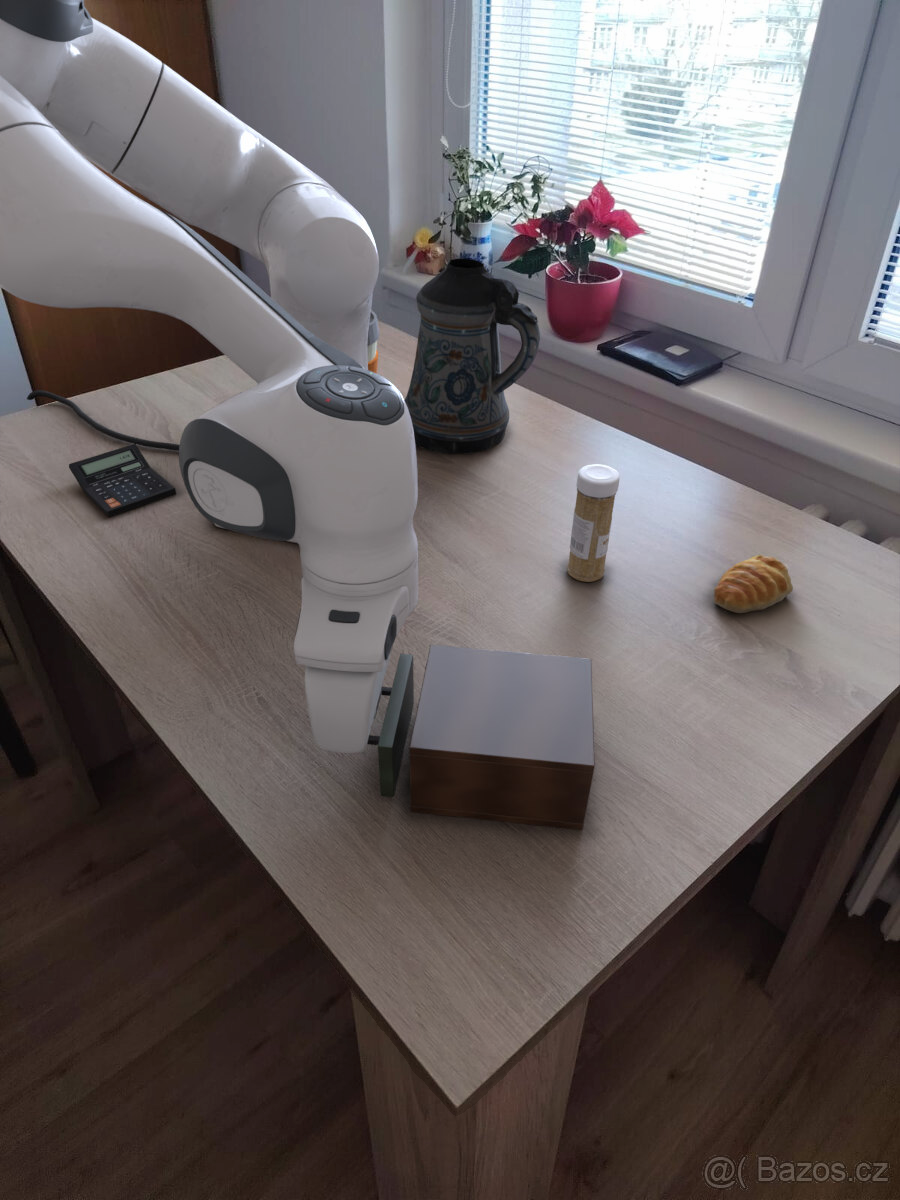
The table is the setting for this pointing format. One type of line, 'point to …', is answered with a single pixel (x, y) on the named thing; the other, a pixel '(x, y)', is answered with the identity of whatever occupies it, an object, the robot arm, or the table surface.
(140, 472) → the calculator
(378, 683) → the robot arm
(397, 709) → the drawer
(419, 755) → the cabinet
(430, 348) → the beer stein
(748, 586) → the pastry
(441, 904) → the table surface
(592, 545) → the sprinkles bottle
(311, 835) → the table surface
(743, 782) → the table surface
